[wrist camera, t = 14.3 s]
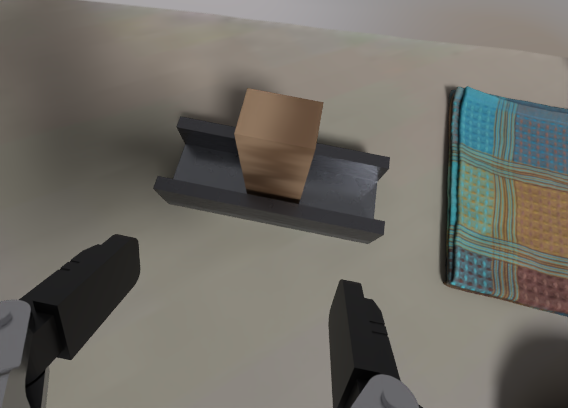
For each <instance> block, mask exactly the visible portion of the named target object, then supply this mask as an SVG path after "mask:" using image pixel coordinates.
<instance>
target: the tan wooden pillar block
mask: <svg viewBox="0 0 568 408" xmlns="http://www.w3.org/2000/svg"><path fill="white" fill-rule="evenodd" d="M322 108H323V102H318V101H313V100H308V99H302V98H297V97H292V96H287V95H281V94H276V93H271V92H265V91H260V90H255V89H250V88H247V91H246V95H245V98H244V102H243V105H242V109H241V112H240V116H239V119H238V122H237V126H236V129H235V133H234V135H235V140H236V145H237V149H238V154H239V159H240V164H241V168H242V173H243V178H244V183H245V187H246V192H247V194H250V195H255V196H260V197H265V198H270V199H275V200H280V201H285V202H290V203H295V204H299V202H300V199H301V195H302V192H303V189H304V185H305V182H306V179H307V175H308V172H309V169H310V165H311V162H312V159H313V155H314V152H315V148H316V143H317V137H318V131H319V125H320V120H321V114H322Z"/></svg>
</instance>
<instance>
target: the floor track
mask: <svg viewBox="0 0 568 408" xmlns="http://www.w3.org/2000/svg"><path fill="white" fill-rule="evenodd" d="M177 129H178V131H179V133H180V135H181V137H182V138H183V140H184V142H185V147H184V150H183V152H182V155H181V158H180V161H179V164H178V166H177V169H176V172H175V175H174V178H173V179H170V178H165V177H160V176H158V177H157V180H156V182H155V185H154V188H153V189H154V190H155V191H156V192H157V193H158V194H159V195H160V196H161V197H162V198H163V199H164V200H165V201H166V202H167V203H169V204H172V205H177V206H182V207H187V208H192V209H197V210H202V211H207V212H212V213H217V214H222V215H227V216H232V217H237V218H242V219H247V220H252V221H257V222H261V223H266V224H271V225H276V226H281V227H286V228H291V229H296V230H301V231H306V232H311V233H316V234H321V235H326V236H331V237H336V238H341V239H346V240H351V241H356V242H361V243H366V244H369V243H371V242H372V241H374V240H376V239H377V238H379V237H381V236H383V235H384V225H385V221H380V220H375V219H374V210H375V199H376V188H377V181H378V180H379V179H380V178H381V177H382V176H383V175H384V174H385V173H386V171H387V170H388V169H389V161H390V157H385V156H380V155H375V154H370V153H365V152H360V151H354V150H349V149H344V148H339V147H334V146H329V145H324V144H319V143H316V148H315V152H314V155H313V159H312V162H311V165H310V169H309V172H308V175H307V179H306V182H305V185H304V189H303V192H302V195H301V199H300V202H299V204H295V203H290V202H285V201H280V200H275V199H270V198H265V197H260V196H255V195H250V194H247V192H246V187H245V183H244V178H243V173H242V168H241V164H240V159H239V154H238V149H237V145H236V140H235V135H234V133H235V129H236V127H232V126H227V125H222V124H216V123H211V122H206V121H201V120H196V119H191V118H186V117H181V116H180V119H179V122H178V124H177Z"/></svg>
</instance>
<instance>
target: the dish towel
mask: <svg viewBox="0 0 568 408" xmlns="http://www.w3.org/2000/svg"><path fill="white" fill-rule="evenodd" d="M447 196H448V210H447V234H446V250H447V253H446V256H447V258H446V281H445V282H443V284H445V285H447V286H449V287H451V288H454V289H458V290H463V291H466V292H470V293H474V294H479V295H483V296H488V297H493V298H497V299H501V300H505V301H509V302H512V303H516V304H519V305H524V306H527V307H531V308H534V309H538V310H542V311H546V312H550V313H555V314H559V315H563V316H567V317H568V109H564V108H557V107H551V106H547V105H542V104H537V103H532V102H528V101H522V100H515V99H509V98H504V97H500V96H496V95H491V94H486V93H483V92H481V91H478V90H475V89H472V88H470V87H468V86H467V87H466V88H465V89H464V88H461V87H457V89H456V90H452V91H451V93H450V95H449V162H448V187H447Z"/></svg>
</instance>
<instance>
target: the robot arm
mask: <svg viewBox="0 0 568 408" xmlns="http://www.w3.org/2000/svg"><path fill="white" fill-rule="evenodd" d="M139 275H140V258H139V244H138V240H137V239H136V238H133V237H128V236H123V235H118V234H115V235H113V236H111V237H110V238H109V239H108V240H107V241H105V242H104V243H103V244H102V245H99V244H97V245H95V246H93V247H90V248H88V249H86V250H83V251H82V252H80V253H79V254H78V255H77V256H75V257H74V258H73V259H71V261H70V262H67V263H66V264H65V265H64V266H62V267H61V269H60V270H57V271H56V272H54V273H53V274H52V275H51V276H49V277H48V278H47V279H45V280H44V281H43V282H41V283H40V284H39V285H38V286H36V287H35V288H34V289H32V290H31V291H30V292H28V293H27V294H26V295H25V296H23V297H22V298H21V299H19V300H6V301H1V302H0V408H46V402H47V392H48V382H49V372H50V371H49V365H50V364H51V362H52V361H53V360H54V359H55V358H56V357H58V358H63V359H68V360H72V359H73V357H74V356H75V355H76V354H77V353H78V351H79V350H80V349H81V348H82V347H83V346H84V344H85V343H86V342H87V341H88V340H89V338H90V337H91V336H92V335H93V334H94V333H95V331H96V330H97V329H98V328H99V327H100V325H101V324H102V323H103V322H104V321H105V320H106V318H107V317H108V316H109V315H110V314H111V312H112V311H113V310H114V309H115V308H116V307H117V305H118V304H119V303H120V302H121V301H122V299H123V298H124V297H125V296H126V295H127V294H128V292H129V291H130V290H131V289H132V288H133V286H134V285H135V284H136V282H137V280H138V278H139ZM384 325H385V323H384V320H383V316H382V312H381V310H380V309H379V308H378V306H377V305H376V303H375V302H374V301H373V300H372V299H367V298H364V295H363V290H362V286H361V284H360V283H357V282H352V281H347V280H342V279H341V280H340V281H339V284H338V287H337V290H336V293H335V296H334V299H333V302H332V305H331V309H330V314H329V342H330V360H331V378H332V397H333V408H423V407H421V406H420V405H419V404H418V403H417V400H416V398H415V397H414V395H413V393H412V392H411V391H410V390H409V388H408V387H407V386H406V385H404V384H403V383H402V382H401V380H400V377H399V374H398V370H397V366H396V363H395V359H394V356H393V352H392V348H391V345H390V341H389V338H388V337H387V335H388V334H387V330H386V327H385V326H384Z"/></svg>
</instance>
